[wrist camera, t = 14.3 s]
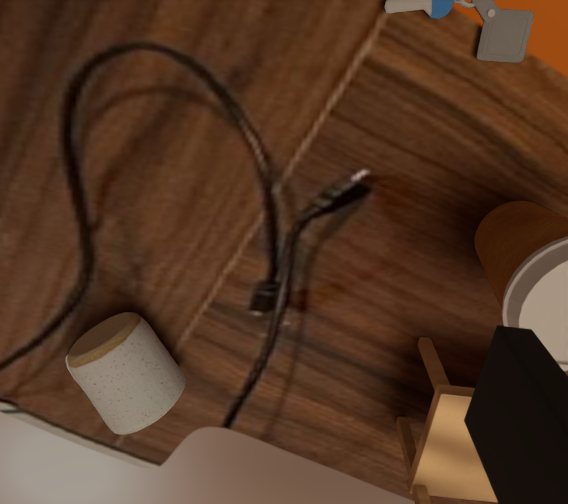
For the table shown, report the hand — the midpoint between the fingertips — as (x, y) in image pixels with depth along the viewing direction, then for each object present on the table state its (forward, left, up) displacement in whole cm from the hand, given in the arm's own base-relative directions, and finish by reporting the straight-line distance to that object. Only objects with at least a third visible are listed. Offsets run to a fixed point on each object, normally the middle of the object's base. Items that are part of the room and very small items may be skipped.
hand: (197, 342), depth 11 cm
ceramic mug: (+23, -11, -29) cm, 39 cm away
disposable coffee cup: (+7, +21, -29) cm, 36 cm away
